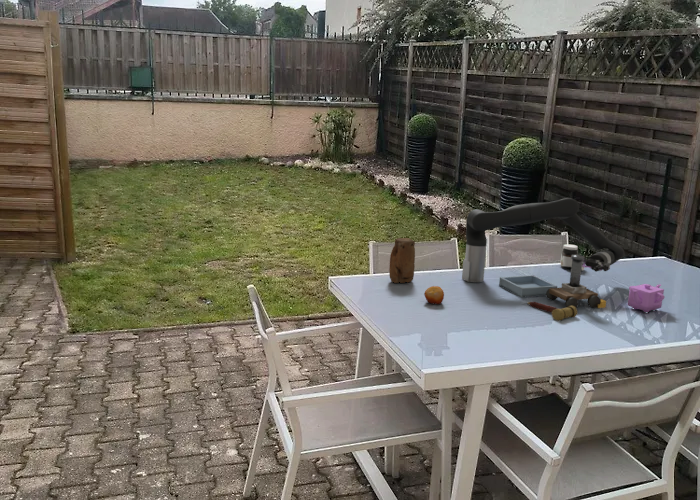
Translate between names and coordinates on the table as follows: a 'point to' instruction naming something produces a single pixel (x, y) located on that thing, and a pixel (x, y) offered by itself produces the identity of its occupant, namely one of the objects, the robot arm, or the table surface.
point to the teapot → (645, 297)
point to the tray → (526, 285)
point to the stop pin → (576, 270)
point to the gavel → (556, 310)
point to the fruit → (434, 295)
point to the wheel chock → (602, 304)
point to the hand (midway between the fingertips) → (585, 267)
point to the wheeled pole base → (574, 295)
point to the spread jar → (568, 256)
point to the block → (402, 261)
